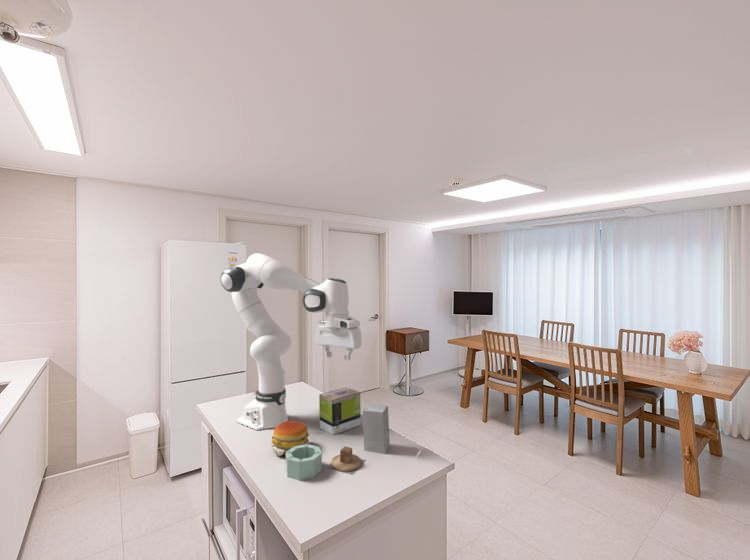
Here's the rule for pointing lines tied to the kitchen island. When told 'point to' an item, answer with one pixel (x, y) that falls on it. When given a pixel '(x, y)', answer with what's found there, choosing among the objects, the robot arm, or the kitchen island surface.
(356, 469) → the mat
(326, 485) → the kitchen island surface
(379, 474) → the kitchen island surface
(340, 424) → the tea box
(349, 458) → the lid
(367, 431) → the skincare box
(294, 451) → the bowl
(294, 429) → the burger
